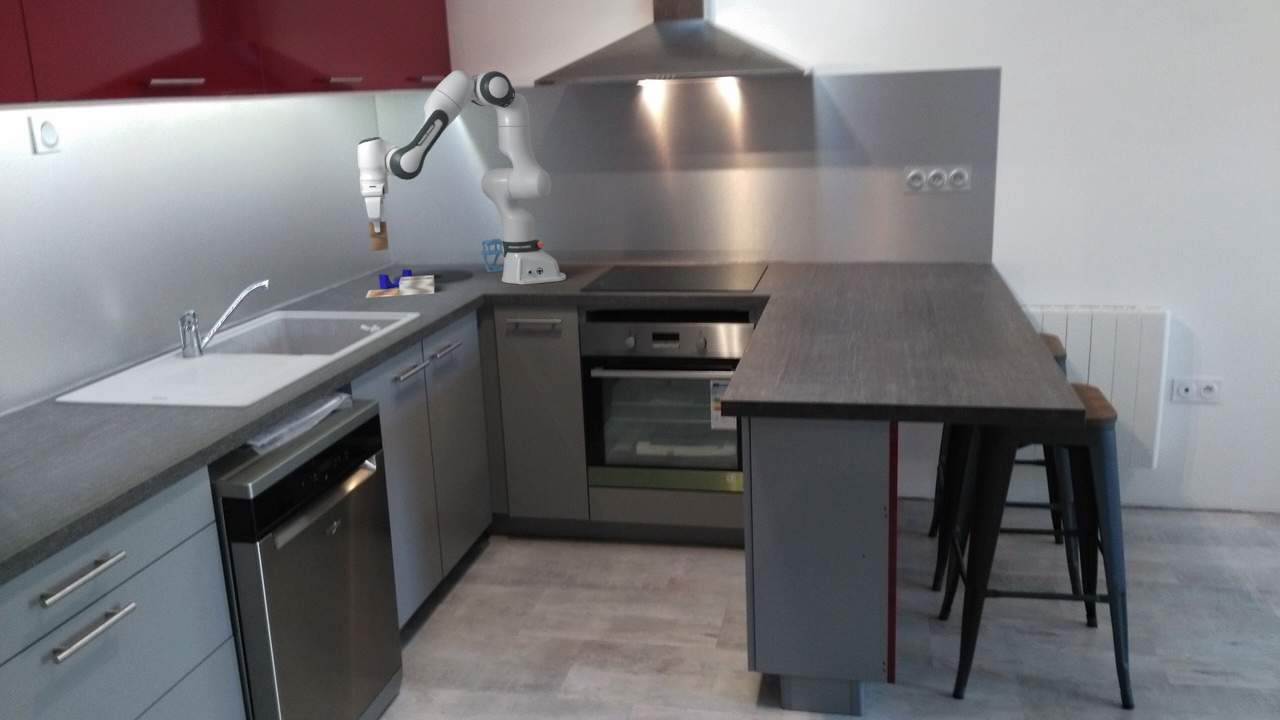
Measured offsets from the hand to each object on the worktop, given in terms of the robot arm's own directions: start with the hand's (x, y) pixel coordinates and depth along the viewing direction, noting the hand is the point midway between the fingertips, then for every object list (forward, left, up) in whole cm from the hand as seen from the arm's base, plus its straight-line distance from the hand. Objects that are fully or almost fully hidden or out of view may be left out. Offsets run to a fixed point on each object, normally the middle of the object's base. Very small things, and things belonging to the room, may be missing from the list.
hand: (378, 231), depth 349 cm
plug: (0, 0, -6) cm, 6 cm away
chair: (-38, -40, -22) cm, 59 cm away
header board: (-6, 0, -22) cm, 22 cm away
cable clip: (-3, -12, -22) cm, 25 cm away
